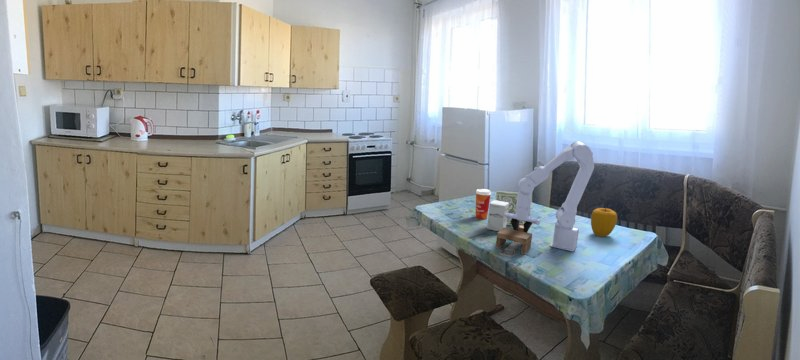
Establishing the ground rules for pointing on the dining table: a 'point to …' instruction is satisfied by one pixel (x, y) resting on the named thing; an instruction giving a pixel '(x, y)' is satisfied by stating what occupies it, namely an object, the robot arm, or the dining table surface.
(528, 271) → the dining table surface
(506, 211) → the supplement box
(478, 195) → the paper cup
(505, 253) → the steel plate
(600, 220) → the apple
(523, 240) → the walnut shelf
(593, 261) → the dining table surface
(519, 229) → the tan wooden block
